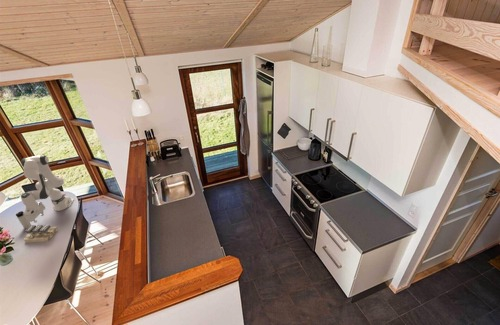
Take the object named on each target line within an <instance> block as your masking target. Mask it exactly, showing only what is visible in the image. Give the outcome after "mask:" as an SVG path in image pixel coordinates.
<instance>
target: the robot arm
mask: <svg viewBox="0 0 500 325" xmlns="http://www.w3.org/2000/svg"><path fill="white" fill-rule="evenodd" d="M20 163H21V165H22V167H23V175H24V177H25V178H26V179H28V180H33V181H37V182H36V183H35V188H36V190H30V191H27V192H24V193H22V194H21V195H20V200H21V201H22V204H23V205H24V206H25V210H24V211H23V212H24V213H23V215H25V218H26V220H27V222H30V223H32V222H34V223H38V220H37V219H36V218H38V217H39V215H40V216H41V217H43V216H45V215H44V210H46V206H45V205H44V204H43V202H41V201H39V200H46V199H48V198H50V201H51V204H52V206H53V207H52V208H53V209H54V210H55V211H56V212H59V211H64V210H65V209H68V208H70V207H71V206H72V204H73V202H74V201H75V199H74V198H72V197H71V196H66V193H62V192H61V190H60V189H58V188H60V187H61V186H64V184H65V180H64V178H63V177H60V176H57V175H55V174H54V173H53V172H52V169H51V168H50V165H49V158H48V156H47V155H33V156H28V157H24V158H22V159H21V161H20ZM37 201H39V202H37Z"/></svg>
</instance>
